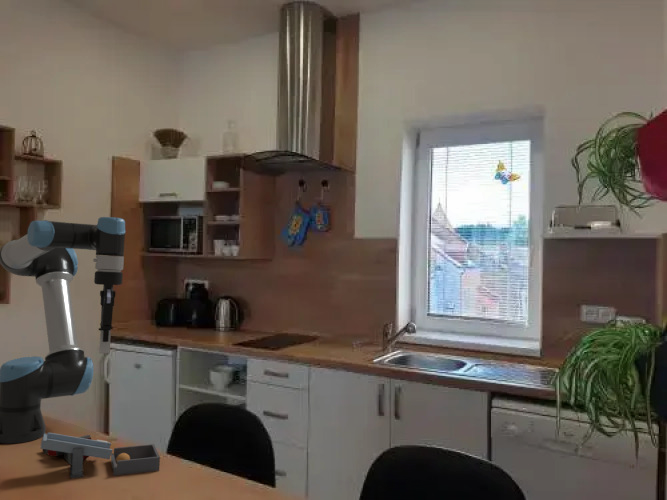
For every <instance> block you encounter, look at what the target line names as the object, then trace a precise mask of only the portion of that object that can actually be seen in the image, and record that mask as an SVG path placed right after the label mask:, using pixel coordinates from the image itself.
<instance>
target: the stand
mask: <svg viewBox="0 0 667 500" xmlns="http://www.w3.org/2000/svg"><path fill="white" fill-rule="evenodd" d="M83 451H84V447H83V448H73V453H72V464H69V472H70V473H69V476H70V477H69V478H70V479H77V478H84V464H83V463H84V459H83Z"/></svg>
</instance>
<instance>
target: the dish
mask: <svg viewBox="0 0 667 500" xmlns="http://www.w3.org/2000/svg"><path fill="white" fill-rule="evenodd" d="M121 453H126V454H128V455H129V457H130V460H120V461H117V464H116V458H117V456H118V455H119V454H121ZM110 462H111V468H112V472H113V476H122V475H132V474H140V473H141V474H142V473H149V472H156V471H157V472H159V471H160V462H161V456H160V454H159V451H158V450H157V448H156V445H155V443H154V444H153V443H152V444H143V445H131V446H121V447H119V446H118V447H113V452H112V453H111V456H110Z"/></svg>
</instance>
